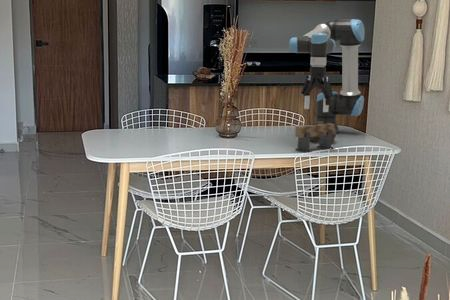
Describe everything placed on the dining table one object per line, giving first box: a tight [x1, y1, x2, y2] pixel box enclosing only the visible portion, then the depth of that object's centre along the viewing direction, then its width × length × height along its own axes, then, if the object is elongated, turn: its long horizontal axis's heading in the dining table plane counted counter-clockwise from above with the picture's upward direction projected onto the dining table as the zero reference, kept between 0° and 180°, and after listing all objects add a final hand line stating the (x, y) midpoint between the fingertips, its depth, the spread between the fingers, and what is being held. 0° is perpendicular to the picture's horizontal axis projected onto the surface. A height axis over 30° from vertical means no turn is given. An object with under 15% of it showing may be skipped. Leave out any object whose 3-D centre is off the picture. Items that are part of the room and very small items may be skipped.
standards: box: [294, 131, 334, 153], centre depth 290 cm, size 18×7×9 cm, turn 123°
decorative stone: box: [310, 121, 338, 144], centre depth 313 cm, size 16×11×15 cm
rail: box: [294, 123, 335, 138], centre depth 289 cm, size 22×4×5 cm, turn 123°
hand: (315, 110), depth 287 cm, fingers open, 13 cm apart
